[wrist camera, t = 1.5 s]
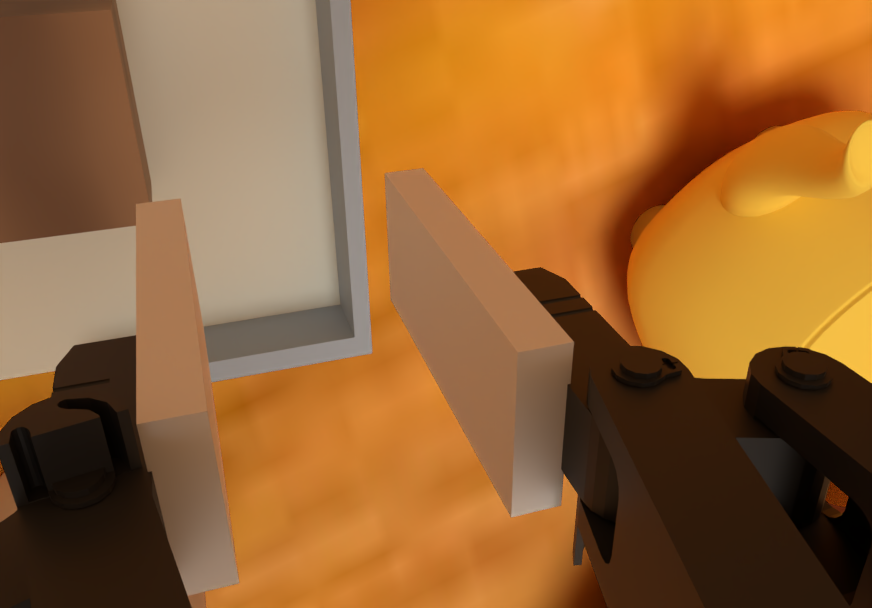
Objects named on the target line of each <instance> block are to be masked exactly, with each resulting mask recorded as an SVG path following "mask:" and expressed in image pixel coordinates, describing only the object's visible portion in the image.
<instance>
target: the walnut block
mask: <svg viewBox="0 0 872 608" xmlns="http://www.w3.org/2000/svg"><path fill="white" fill-rule="evenodd" d="M148 202H152V187H151V178H150V173H149V168H148V163H147V158H146V152H145V147H144V142H143V137H142V132H141V127H140V122H139V116H138V111H137V106H136V101H135V96H134V91H133V86H132V80H131V75H130V70H129V65H128V60H127V55H126V50H125V44H124V39H123V34H122V29H121V24H120V19H119V14H118V8H117V3H116V0H0V243H7V242H14V241H22V240H30V239H37V238H45V237H53V236H60V235H68V234H76V233H83V232H91V231H99V230H106V229H114V228H122V227H129V226H136V204H140V203H148Z"/></svg>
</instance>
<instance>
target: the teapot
mask: <svg viewBox="0 0 872 608" xmlns="http://www.w3.org/2000/svg"><path fill="white" fill-rule="evenodd" d="M631 244H632V247H633V250H632V253H631V255H630V259H629V264H628V271H627V292H628V302H629V306H630V310H631V314H632V318H633V321H634V324H635V327H636V330H637V333H638V336H639V338H640V341H641V343H642V346H644V347H648V348H652V349H656V350H660V351H663V352H665V353H667V354H669V355H671V356H674V357H676V358H678V359H679V360H680V361H681V362H682V363H683V364H684V365H685V366H686V367H687V368H688V369H689V370H690V372H691V373H692V375H693V376H694V378H709V379H746V377H747V372H748V367H749V362H750V361H751V360H752V358H753V357H754V355H755V354H756V353H758V352H761V351H763V350H765V349H768V348H775V347H785V346H790V347H796V348H798V347H802V348H808V349H810V350H813V351H816V352H819V353H823V354H826V355H828V356H830V357H832V358H834V359H835V360H837V361H839V362H841V363H843V364H844V365H846V366H847V367H849V368H850V369H852V370H853V371H854V372H856V373H857V374H859V375H860V376H862V377H863V378H865V379H866V380H868V381H869V382H870V383H872V114H871V113H866V112H862V111H834V112H829V113H824V114H821V115H817V116H813V117H810V118H806V119H803V120H799V121H796V122H793V123H791V124H788V125H785V126H772V127H769V128H767V129H765V130H763V131H762V132H761V133H760V134H758V135H757V136H756V137H755V139H754V140H752V141H750V142H748V143H746V144H744V145H742V146H740V147H738V148H736V149H734V150H733V151H731V152H729V153H728V154H726V155H725V156H723V157H722V158H720V159H718V160H717V161H715V162H714V163H713V164H711V165H710V166H709V167H707V168H706V169H705V170H703V171H702V172H701V173H699V174H698V175H697V176H696V177H695V178H694V179H692V180H691V181H690V182H689V183H688V184H687V185H686V186H685V187H683V188H682V189H681V190H680V191H679V192H678V193H677V194H676V195H675V196H674V197H673V198H672V199H671V200H670V201H669V202H668V203H667V204H666V205H658V206H654V207H652V208H650V209H648V210H646V211H645V212H644V213H643V214H641V216H640V217H639V218H638V219H637V220H636V222H635V224H634V226H633V228H632V231H631Z"/></svg>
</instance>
